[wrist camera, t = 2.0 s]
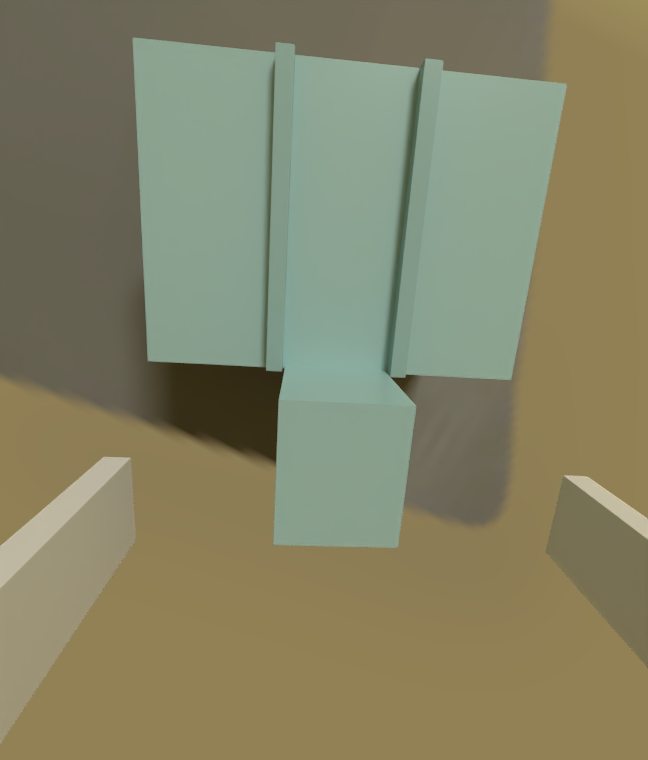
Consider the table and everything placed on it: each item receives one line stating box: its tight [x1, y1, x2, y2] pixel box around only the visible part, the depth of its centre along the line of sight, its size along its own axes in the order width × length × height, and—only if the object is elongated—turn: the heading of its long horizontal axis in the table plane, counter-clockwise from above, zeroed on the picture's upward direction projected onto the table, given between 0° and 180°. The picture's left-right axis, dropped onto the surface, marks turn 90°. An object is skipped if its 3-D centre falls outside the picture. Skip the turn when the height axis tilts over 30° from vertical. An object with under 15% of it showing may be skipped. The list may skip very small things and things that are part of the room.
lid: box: [133, 38, 567, 548], centre depth 14 cm, size 15×15×6 cm
